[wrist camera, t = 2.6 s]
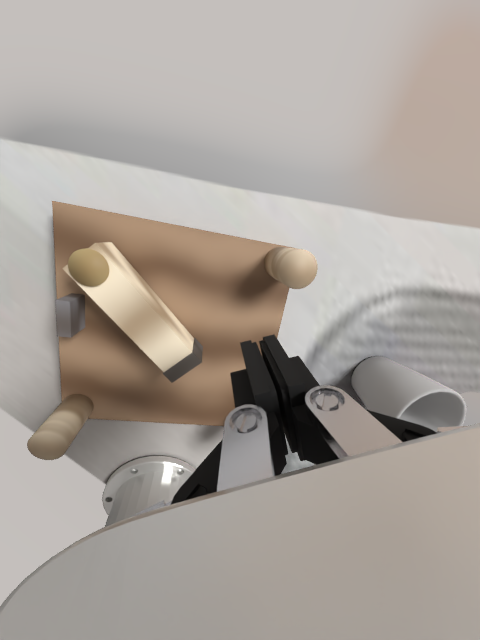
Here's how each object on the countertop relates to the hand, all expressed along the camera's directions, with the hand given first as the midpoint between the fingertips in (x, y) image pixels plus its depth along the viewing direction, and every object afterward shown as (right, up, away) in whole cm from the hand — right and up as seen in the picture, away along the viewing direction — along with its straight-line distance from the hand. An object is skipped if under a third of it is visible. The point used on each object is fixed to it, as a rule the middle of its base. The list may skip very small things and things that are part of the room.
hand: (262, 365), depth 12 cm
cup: (+16, -6, +20) cm, 26 cm away
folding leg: (-9, +3, +10) cm, 14 cm away
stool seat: (-8, +1, +14) cm, 16 cm away
